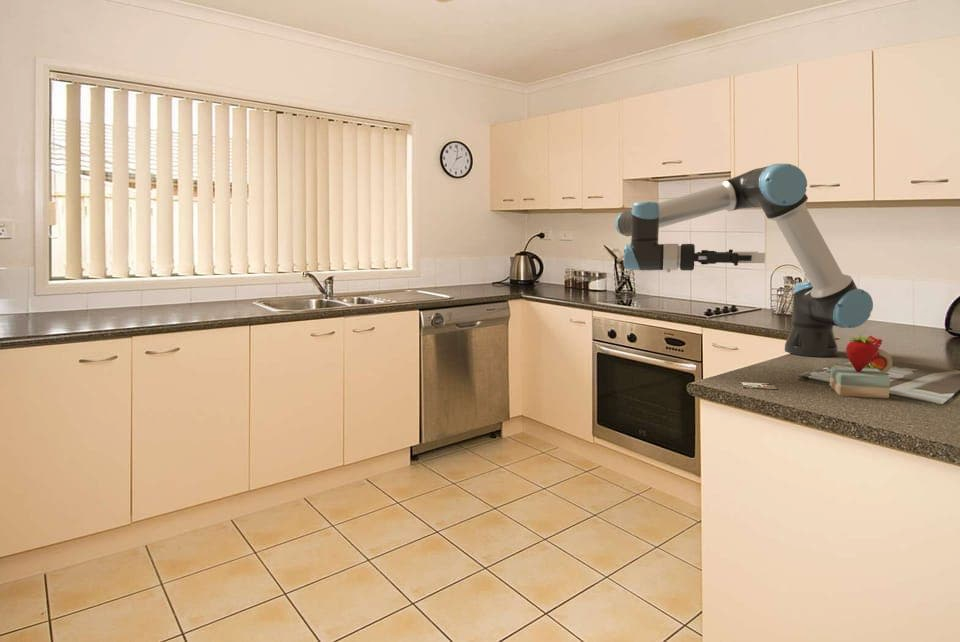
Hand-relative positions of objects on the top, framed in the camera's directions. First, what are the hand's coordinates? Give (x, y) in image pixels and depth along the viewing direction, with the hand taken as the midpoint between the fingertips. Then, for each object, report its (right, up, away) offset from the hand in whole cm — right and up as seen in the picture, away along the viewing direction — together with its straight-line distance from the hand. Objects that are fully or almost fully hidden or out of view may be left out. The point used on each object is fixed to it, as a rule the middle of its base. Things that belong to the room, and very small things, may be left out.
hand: (761, 257), depth 167 cm
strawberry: (+15, -30, -19) cm, 39 cm away
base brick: (+15, -35, -19) cm, 42 cm away
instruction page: (-6, -34, -12) cm, 37 cm away
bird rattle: (+28, -33, -2) cm, 43 cm away
